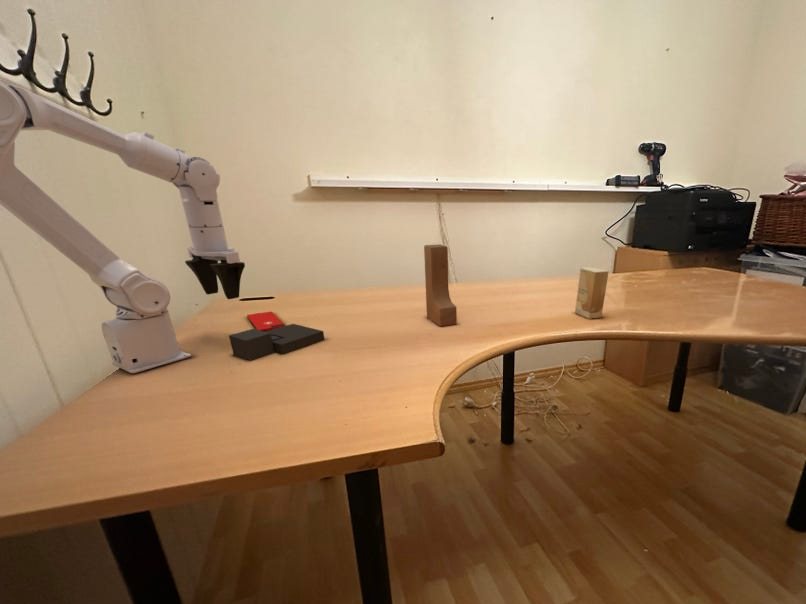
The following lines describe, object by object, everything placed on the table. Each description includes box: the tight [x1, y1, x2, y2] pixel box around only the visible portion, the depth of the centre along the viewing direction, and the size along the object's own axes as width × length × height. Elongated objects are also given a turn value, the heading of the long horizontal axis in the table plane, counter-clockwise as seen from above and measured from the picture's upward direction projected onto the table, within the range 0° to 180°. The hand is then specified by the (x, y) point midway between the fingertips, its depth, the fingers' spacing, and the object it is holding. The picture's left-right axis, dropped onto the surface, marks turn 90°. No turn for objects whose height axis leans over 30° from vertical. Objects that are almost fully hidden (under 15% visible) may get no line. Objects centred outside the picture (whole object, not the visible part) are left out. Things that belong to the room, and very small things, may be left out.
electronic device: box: [246, 311, 286, 332], centre depth 97 cm, size 6×1×15 cm
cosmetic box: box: [574, 266, 609, 320], centre depth 104 cm, size 6×4×12 cm
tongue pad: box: [228, 328, 281, 361], centre depth 79 cm, size 8×6×4 cm
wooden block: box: [423, 244, 458, 327], centre depth 97 cm, size 9×4×18 cm, turn 28°
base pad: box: [264, 323, 325, 355], centre depth 84 cm, size 10×10×2 cm
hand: (222, 295), depth 83 cm, fingers open, 7 cm apart
